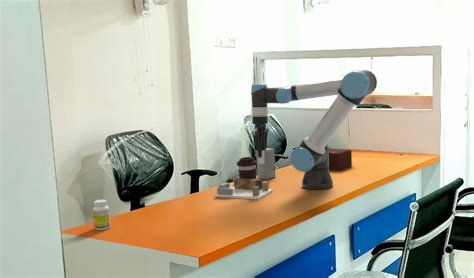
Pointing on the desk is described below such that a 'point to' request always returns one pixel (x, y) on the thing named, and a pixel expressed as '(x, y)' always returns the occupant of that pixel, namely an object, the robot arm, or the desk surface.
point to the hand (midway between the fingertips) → (261, 163)
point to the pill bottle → (101, 215)
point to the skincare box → (266, 165)
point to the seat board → (243, 191)
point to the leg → (247, 183)
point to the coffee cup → (247, 168)
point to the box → (340, 159)
